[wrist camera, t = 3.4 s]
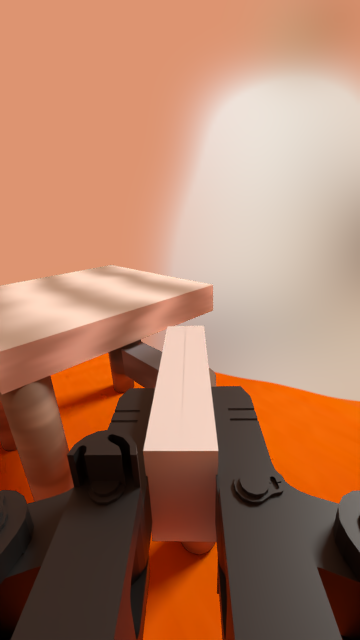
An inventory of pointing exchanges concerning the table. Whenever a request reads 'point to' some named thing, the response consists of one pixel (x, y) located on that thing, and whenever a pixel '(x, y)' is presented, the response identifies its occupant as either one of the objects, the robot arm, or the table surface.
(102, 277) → the stool
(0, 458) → the table surface
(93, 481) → the robot arm
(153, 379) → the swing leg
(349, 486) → the table surface
